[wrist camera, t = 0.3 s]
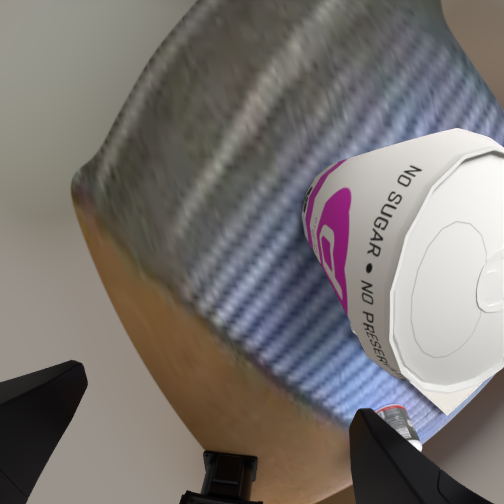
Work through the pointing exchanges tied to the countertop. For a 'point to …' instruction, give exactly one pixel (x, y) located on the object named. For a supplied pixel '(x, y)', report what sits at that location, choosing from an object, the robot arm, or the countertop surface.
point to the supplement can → (418, 255)
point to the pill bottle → (400, 422)
